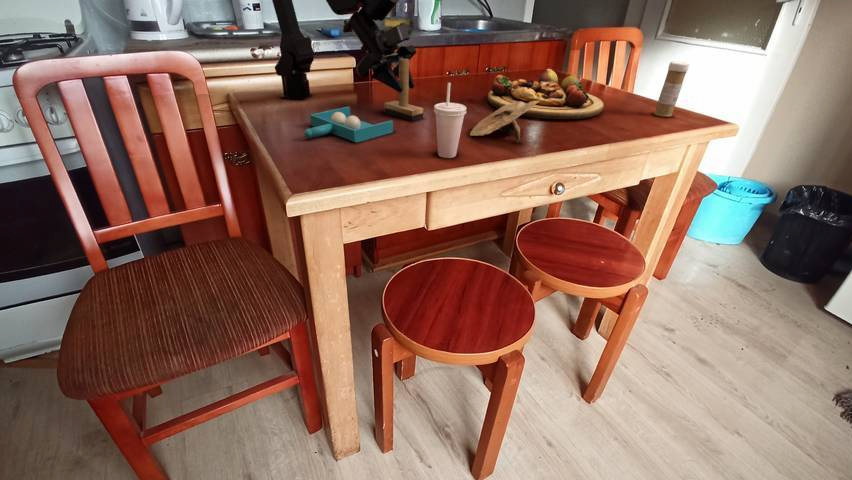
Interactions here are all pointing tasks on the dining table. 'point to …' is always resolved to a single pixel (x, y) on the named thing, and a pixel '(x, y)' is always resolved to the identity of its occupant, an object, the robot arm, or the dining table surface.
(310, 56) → the robot arm
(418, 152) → the dining table surface
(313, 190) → the dining table surface
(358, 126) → the cream oval piece
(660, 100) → the sprinkles bottle
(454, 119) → the smoothie
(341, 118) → the beige rounded piece
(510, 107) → the tan wooden pointed piece
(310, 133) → the dustpan
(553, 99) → the wooden plate
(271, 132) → the dining table surface
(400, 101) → the brush
